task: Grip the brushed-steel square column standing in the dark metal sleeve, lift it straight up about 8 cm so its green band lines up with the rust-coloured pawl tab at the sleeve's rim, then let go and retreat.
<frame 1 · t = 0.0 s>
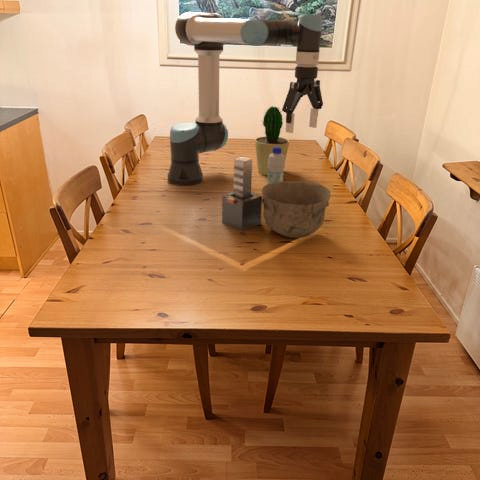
hand: (301, 129, 159), 28 cm above the table, fingers open, 13 cm apart
potted cactus: (270, 172, 207), on the table
stand base: (241, 226, 151), on the table
column: (242, 192, 146), point 12 cm above the table, slide at 0.0 cm
bowl: (292, 234, 147), on the table
bottle: (274, 197, 178), on the table
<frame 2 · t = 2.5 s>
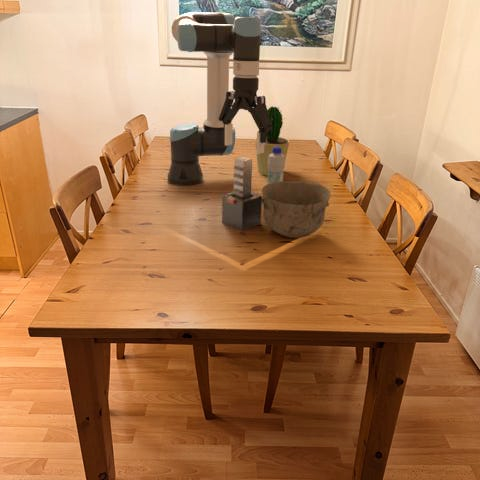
hand: (243, 149, 139), 26 cm above the table, fingers open, 13 cm apart
nothing on the table moved.
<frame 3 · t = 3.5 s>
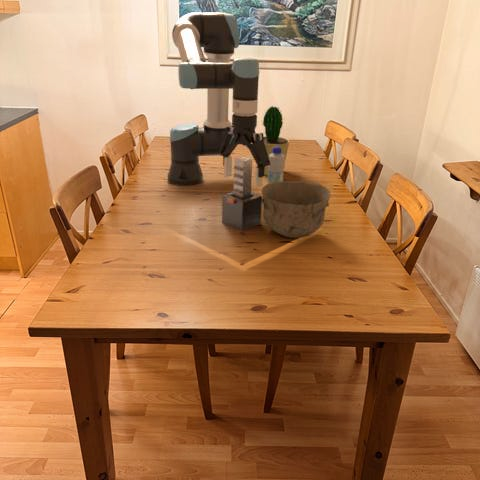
hand: (242, 181, 144), 16 cm above the table, fingers open, 13 cm apart
nothing on the table moved.
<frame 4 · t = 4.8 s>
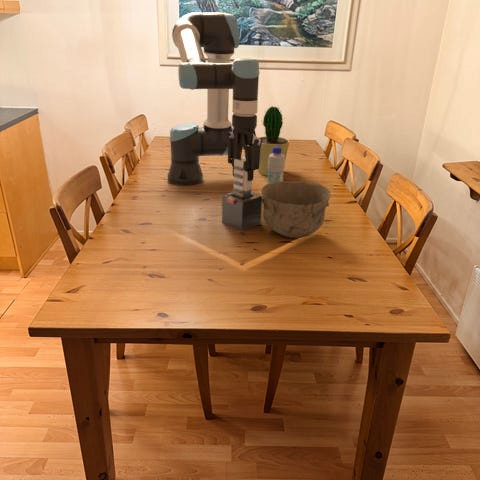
hand: (242, 187, 145), 14 cm above the table, fingers closed on column, 4 cm apart
column: (242, 192, 146), point 12 cm above the table, slide at 0.0 cm, touching gripper
everything else where it was.
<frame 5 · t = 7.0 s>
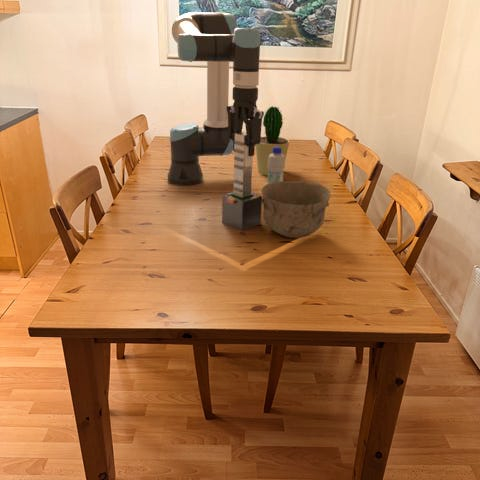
hand: (243, 163, 142), 22 cm above the table, fingers closed on column, 4 cm apart
column: (242, 168, 142), point 20 cm above the table, slide at 7.9 cm, touching gripper
everything else where it was.
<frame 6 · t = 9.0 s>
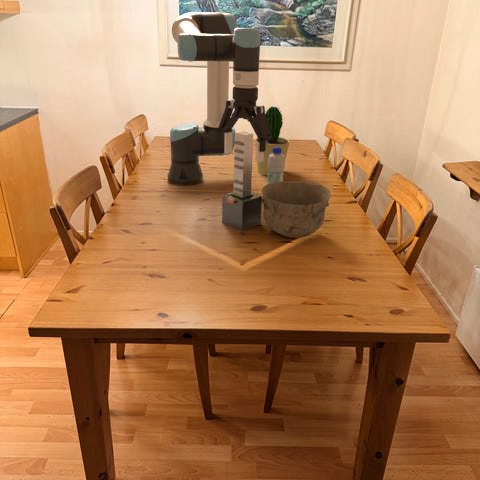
hand: (243, 157, 141), 24 cm above the table, fingers open, 13 cm apart
column: (242, 168, 142), point 20 cm above the table, slide at 8.0 cm
everything else where it was.
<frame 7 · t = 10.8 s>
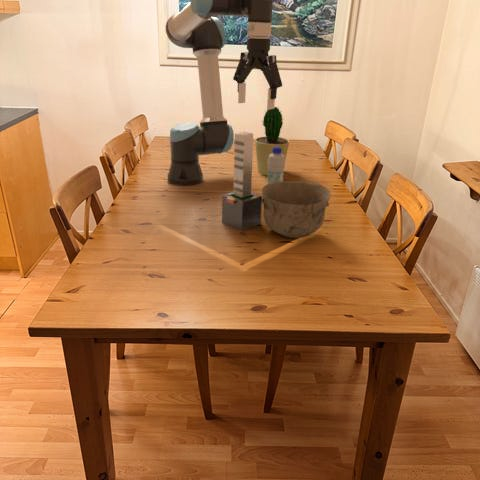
hand: (255, 106, 153), 36 cm above the table, fingers open, 13 cm apart
nothing on the table moved.
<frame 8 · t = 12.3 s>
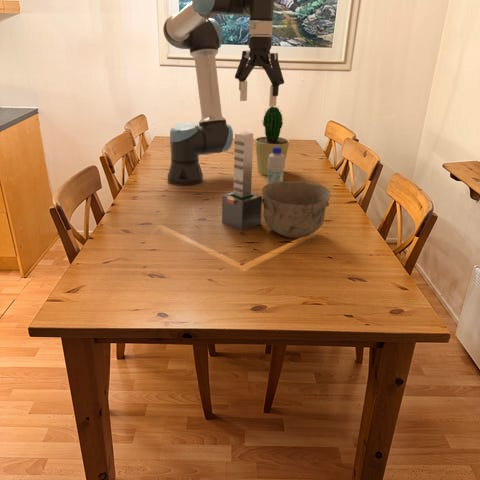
hand: (257, 103, 155), 37 cm above the table, fingers open, 13 cm apart
nothing on the table moved.
at the end: column slide at 8.0 cm; the gripper is holding nothing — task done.
